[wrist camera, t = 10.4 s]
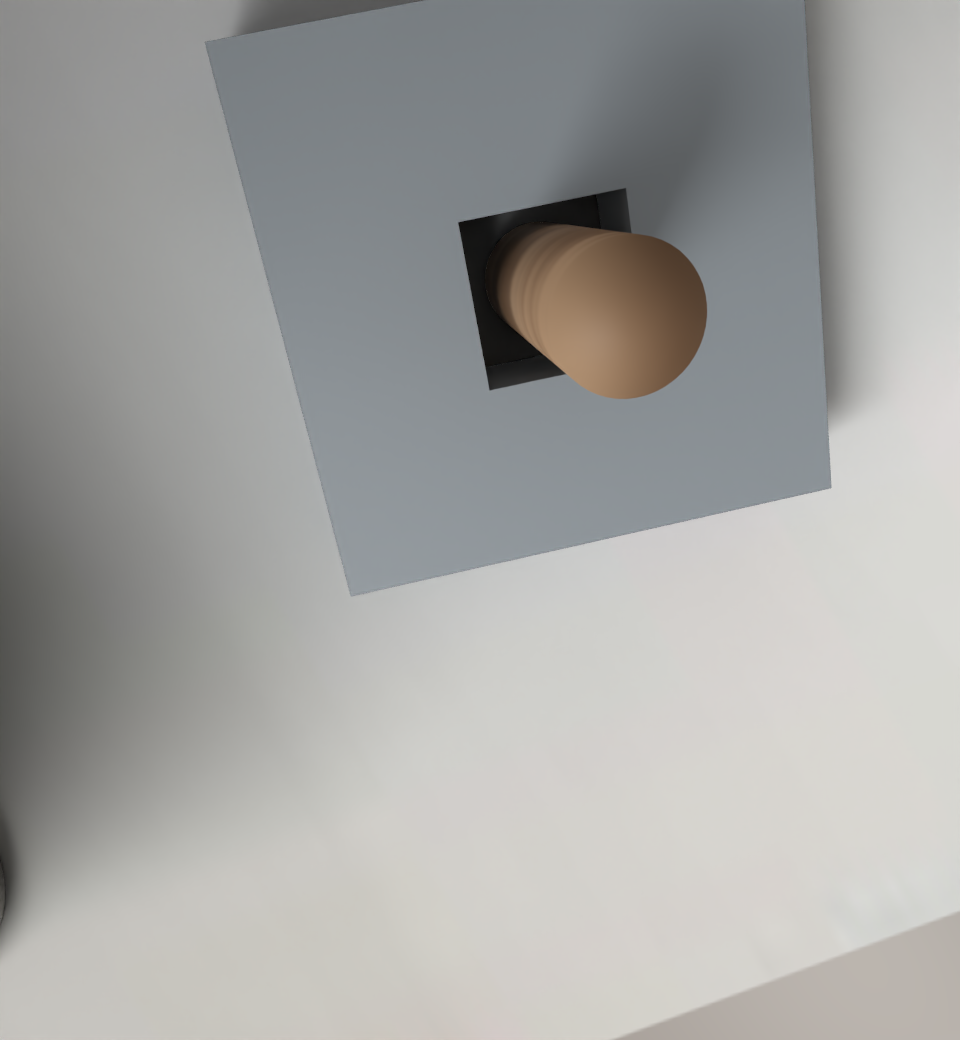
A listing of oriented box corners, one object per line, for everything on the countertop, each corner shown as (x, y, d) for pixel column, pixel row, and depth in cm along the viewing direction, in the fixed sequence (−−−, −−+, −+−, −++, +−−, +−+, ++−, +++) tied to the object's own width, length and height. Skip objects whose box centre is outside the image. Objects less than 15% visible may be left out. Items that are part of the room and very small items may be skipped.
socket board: (351, 555, 36) (350, 596, 33) (223, 61, 30) (204, 41, 26) (783, 458, 37) (831, 487, 34) (747, -40, 31) (800, -72, 27)
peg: (494, 342, 34) (560, 412, 23) (476, 231, 33) (538, 250, 22) (597, 322, 35) (713, 382, 23) (584, 212, 33) (700, 220, 22)
